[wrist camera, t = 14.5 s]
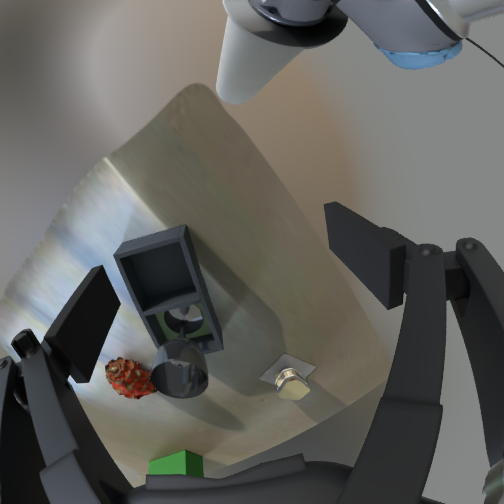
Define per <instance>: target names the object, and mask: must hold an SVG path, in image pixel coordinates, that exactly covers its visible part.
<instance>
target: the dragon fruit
mask: <svg viewBox="0 0 504 504" xmlns="http://www.w3.org/2000/svg"><path fill="white" fill-rule="evenodd" d="M108 363H109V364H108V365H106V366H105V371H106V379H107V380H108V382H109V384H112V387H113V389H114V390H115V391H116V392H117V393H118V394H119V395H124V396H125V397H127V398H131V399H132V398H135V399H140V398H141V397H142V396H145V395H149V394H151V393H155V392H157V389H156V390H155V387H154V385H153V384H152V382H151V379H149V377H150V378H151V370H150V371H142V370H141V366H142V364H141V363H140V362H137V361H135V362H134V360H133V359H130V360H124V359H123V358H121V357H118V359H117V360H113V359H112V360H111V361H109V362H108ZM135 363H137V364H135Z"/></svg>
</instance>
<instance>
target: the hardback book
mask: <svg viewBox="0 0 504 504" xmlns="http://www.w3.org/2000/svg"><path fill="white" fill-rule="evenodd" d="M149 474H185V475H191V476H198V477H204V476H203V475H204V474H203V460H202V457H200V456H198V455H196V454H193V453H191V452H189V451H187V450H184V451H181V452H178V453H175V454H172V455H169V456H166V457H163V458H160V459H157V460H153V461H150V462H149Z"/></svg>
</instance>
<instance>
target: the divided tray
mask: <svg viewBox="0 0 504 504" xmlns="http://www.w3.org/2000/svg"><path fill="white" fill-rule="evenodd" d="M113 256H114V258H115V261H116V263H117V266H118V268H119V271H120V273H121V275H122V278H123V280H124V282H125V285H126V287H127V289H128V291H129V293H130V296H131V298H132V300H133V302H134V304H135V306H136V308H137V311H138V313H139V315H140V317H141V319H142V321H143V323H144V325H145V327H146V329H147V331H148V333H149V335H150V336H151V338H152V340H153V342H154V344H155V346H156V348H157V350H158V349H159V348H160V346H161V345H162V344H163V343H164V342H166V341H167V340H169V339H172V338H177V337H178V336H179V333H176V332H174V331H172V330H171V329H170V328H169V327H168V326H167V325H166V323H165V321H164V313H165V311H169V310H173V309H177V308H182V307H186V306H190V305H196V306H197V307H198V308H199V309H200V310H201V311H202V313H203V317H204V322H203V325H202V326H201V328H200V329H199V330H198V331H196V332H194V333H191V334H186V338H187V339H190V340H192V341H193V342H195V343H196V344H197V345H198V346H199V347H200V348H201V350H202V352H203V354H207V353H212V352H216V351H220V350H224V348H223V338H222V331H221V328H220V326H219V323H218V320H217V317H216V314H215V312H214V309H213V306H212V303H211V300H210V297H209V294H208V291H207V288H206V285H205V282H204V279H203V276H202V273H201V270H200V267H199V264H198V261H197V258H196V255H195V252H194V249H193V245H192V242H191V239H190V236H189V232H188V229H187V226H186V225H182V226H178V227H175V228H171V229H168V230H164V231H161V232H157V233H154V234H151V235H147V236H144V237H140V238H137V239H134V240H130V241H127V242H124V243H122V244H121V245H120V247H119V248H118V249H117V251H116V252H115V253H114V255H113Z"/></svg>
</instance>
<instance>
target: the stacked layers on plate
mask: <svg viewBox="0 0 504 504" xmlns="http://www.w3.org/2000/svg"><path fill="white" fill-rule="evenodd" d="M315 368H316V367H315V366H313V365H310V364H308V363H306V362H303V361H301V360H299V359H296V358H294V357H292V356H290V355H287V354H285V353H284V354H283V355H282V356H281V357H280V358H279V359H278V360H277V361H276V362H275V363H274V364H273V365H272V366H271V367H270V368H269V369H268V370H267V371H266V372H265V373H264V374H263V375H262V376H261V377H260V378H259V380H262V381H265V382H267V383H270V384H273V385H276V386H277V387H278V389H277V391H278V393H279V397H280V398H284V399H290V400H296V401H299V400H300V399H302V398H303V397H304V396H305V395H306V394H307V393H308V392H310V391H311V390H310V389H309V388H308V387H309V385H308V384H306V383H305V381H306V379H305V378H306V377H307V376H308V375H309V374H310V373H311V372H312V371H313V370H314V369H315Z"/></svg>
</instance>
